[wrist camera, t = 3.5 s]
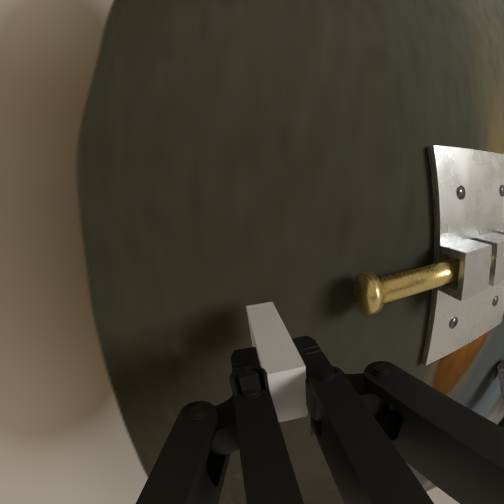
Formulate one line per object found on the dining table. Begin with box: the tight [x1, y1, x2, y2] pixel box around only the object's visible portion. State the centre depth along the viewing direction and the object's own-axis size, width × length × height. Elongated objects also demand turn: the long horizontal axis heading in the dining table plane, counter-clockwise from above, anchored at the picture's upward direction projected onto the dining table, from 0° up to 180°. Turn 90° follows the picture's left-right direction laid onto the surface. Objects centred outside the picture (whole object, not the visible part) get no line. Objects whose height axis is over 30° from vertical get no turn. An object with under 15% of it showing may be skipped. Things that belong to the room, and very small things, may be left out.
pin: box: [353, 254, 492, 316], centre depth 17 cm, size 3×16×3 cm, turn 98°
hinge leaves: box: [421, 145, 504, 365], centre depth 18 cm, size 20×14×4 cm
